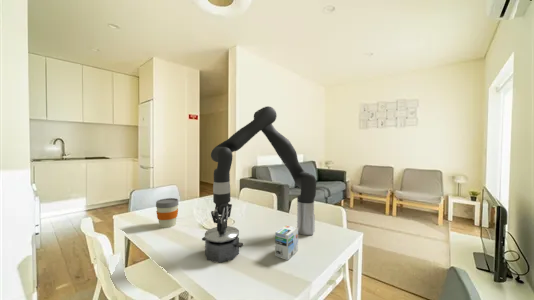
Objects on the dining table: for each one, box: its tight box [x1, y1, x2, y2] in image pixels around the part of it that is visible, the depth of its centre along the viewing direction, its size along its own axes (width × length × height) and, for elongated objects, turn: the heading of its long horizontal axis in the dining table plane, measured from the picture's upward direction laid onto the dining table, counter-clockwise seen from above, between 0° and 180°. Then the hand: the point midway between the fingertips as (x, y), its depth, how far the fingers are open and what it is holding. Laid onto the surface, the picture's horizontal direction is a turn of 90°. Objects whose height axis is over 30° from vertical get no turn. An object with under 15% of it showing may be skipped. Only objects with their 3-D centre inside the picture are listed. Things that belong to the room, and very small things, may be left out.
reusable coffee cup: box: [155, 197, 179, 229], centre depth 135 cm, size 13×13×15 cm
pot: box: [201, 236, 244, 264], centre depth 100 cm, size 20×14×7 cm
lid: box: [204, 218, 240, 243], centre depth 100 cm, size 15×15×8 cm
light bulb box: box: [274, 225, 299, 261], centre depth 101 cm, size 11×7×11 cm, turn 148°
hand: (222, 229), depth 100 cm, fingers closed on lid, 3 cm apart
